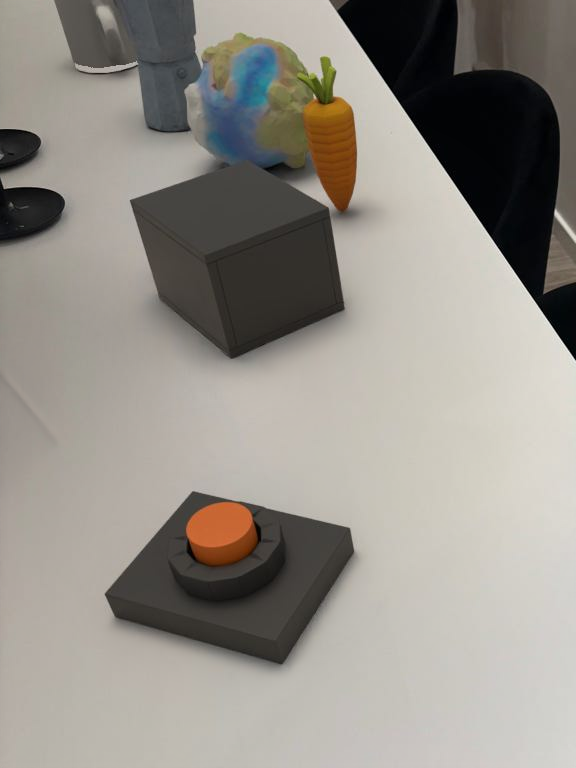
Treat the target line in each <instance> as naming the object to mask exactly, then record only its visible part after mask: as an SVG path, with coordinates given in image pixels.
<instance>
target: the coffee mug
mask: <svg viewBox="0 0 576 768" xmlns="http://www.w3.org/2000/svg"><path fill="white" fill-rule="evenodd" d="M54 5H55V8H56V10H57V14H58V16H59V20H60V24H61V26H62V30H63V33H64V36H65V40H66V43H67V47H68V49H69V52H70V56H71V58H72V62H73V61H74V62H73V64H74V63H76V64H78V65H82V66H88V67H91V68H92V67H93V68H104V67H110V66H116V65H126V64H129V63H133V62H136V61H137V58H138V57H137V56H136V54H135V50H134V46H133V43H132V41H131V40H130V39H129V37H128V35H127V32H126V30H125V27H124V25H123V22H122V19H121V16H120V13H119V11H118V9H117V7H116V5H115V3H114V0H54Z"/></svg>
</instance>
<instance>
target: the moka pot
mask: <svg viewBox="0 0 576 768" xmlns="http://www.w3.org/2000/svg"><path fill="white" fill-rule="evenodd" d="M114 3H115V5H116V7H117V9H118V11H119V13H120V16H121V19H122V22H123V25H124V27H125V30H126V32H127V35H128V37H129V39H130V40H131V41H132V43H133V46H134V50H135V54H136V56H137V57H138V58H137V63H138V66H137V71H138V76H139V85H140V93H141V101H142V109H143V110H142V111H143V118H144V120H145V121H144V122H145V124H146V125H147V126H148V127H149V128H152V129H155V130H158V131H162V132H185V131H189V130H190V131H191V128H190V126H189V124H188V120H187V100H186V96H185V93H184V92H185V89H186V88H187V87H188V86H189V85H190V84H193V83H195V82H196V81H197V80H198V79H199V77H200V75H201V72H202V66H201V63H200V60H199V58H198V55H197V53H196V50H197V48H196V47H197V46H196V40H195V36H196V35H197V26H196V25H197V23H196V14H195V13H196V12H195V4H194V0H114Z"/></svg>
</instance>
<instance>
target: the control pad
mask: <svg viewBox="0 0 576 768" xmlns="http://www.w3.org/2000/svg"><path fill="white" fill-rule="evenodd" d="M222 502H232V503H237V504H240V505H243V506H244V507H246V508H247V509H248V510H249V511H250V513H251V515H252V518H253V522H254V525H255V529H256V532H257V536H258V542H257V545H256V547H255V549H254V551H253V552H252V553H251V554H250V555H249V556H247V557H246V558H244V559H242V560H240V561H238V562H237V563H235V564H231V565H225V566H218V567H211V566H207V565H204V564H202V563H201V562H199V561H198V560H197V559H196V558H195V556H194V554H193V551H192V548H191V545H190V542H189V540H188V537H187V533H186V528H187V524H188V522H189V520H190V519H191V517H192V516H193V515H194V514H195V513H197V512H198V511H199V510H201V509H203V508H204V507H207V506H209V505H212V504H216V503H222ZM354 553H355V546H354V541H353V536H352V531H351V527H348V526H344V525H339V524H336V523H331V522H327V521H323V520H318V519H314V518H310V517H305V516H301V515H297V514H293V513H288V512H285V511H280V510H276V509H271V508H268V507H265V506H262V505H258V504H254V503H249V502H245V501H241V500H233V499H228V498H225V497H221V496H217V495H212V494H207V493H203V492H199V491H194V490H193V491H191V492H190V493H189V494H188V496H187V497H186V498H185V499H184V501H183V502H182V503H181V504H180V505H179V507H177V508H176V510H175V511H174V512H173V513H172V514H171V515H170V516H169V518H168V519H167V520H166V521H165V523H163V525H162V526H161V527H160V528H159V530H158V531H157V532H156V533H155V534H154V536H153V537H152V538H151V539H150V540H149V541H148V542H147V543H146V544H145V546H144V547H143V548H142V549H141V551H139V553H138V554H137V555H136V556H135V557H134V559H133V560H132V561H131V562H130V563H129V565H127V567H126V568H125V569H124V570H123V571H122V572H121V574H119V576H118V577H117V578H116V579H115V581H114V582H113V583H112V584H111V585H110V587H109V588H108V589H107V590H106V591H105V592H104V597H105V599H106V602H107V603H108V605H109V607H110V609H111V611H112V615H113V616H114V618H117V619H121V620H125V621H128V622H131V623H134V624H138V625H142V626H145V627H148V628H152V629H156V630H160V631H163V632H167V633H170V634H174V635H177V636H180V637H184V638H187V639H191V640H195V641H198V642H203V643H205V644H208V645H213V646H216V647H219V648H222V649H226V650H230V651H233V652H237V653H240V654H244V655H248V656H251V657H255V658H258V659H261V660H265V661H268V662H272V663H275V664H279V665H283V664H284V663H285V661H286V659H287V658H288V656H289V654H290V653H291V651H292V650H293V648H294V647H295V645H296V644H297V642H298V640H299V639H300V637H301V635H302V634H303V632H304V631H305V630H306V628H307V626H308V625H309V623H310V621H311V620H312V618H313V617H314V615H315V614H316V612H317V610H319V608H320V606H321V604H322V603H323V601H324V600H325V598H326V596H327V595H328V593H329V592H330V590H331V589H332V587H333V586H334V584H335V582H336V581H337V580H338V578H339V576H340V575H341V573H342V572H343V570H344V568H345V567H346V565H347V564H348V562H349V560H350V559H351V557H352V556H353V554H354Z"/></svg>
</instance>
